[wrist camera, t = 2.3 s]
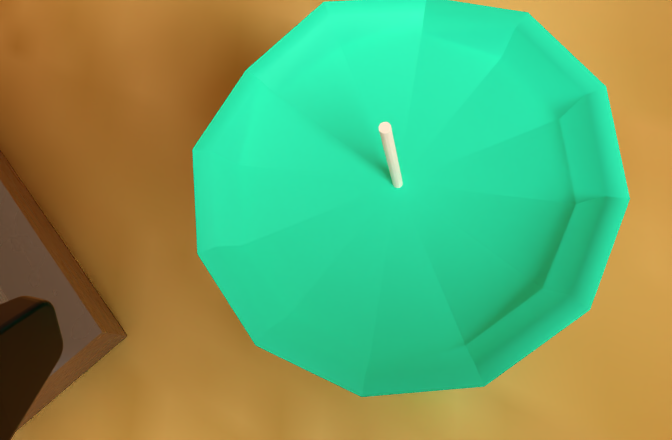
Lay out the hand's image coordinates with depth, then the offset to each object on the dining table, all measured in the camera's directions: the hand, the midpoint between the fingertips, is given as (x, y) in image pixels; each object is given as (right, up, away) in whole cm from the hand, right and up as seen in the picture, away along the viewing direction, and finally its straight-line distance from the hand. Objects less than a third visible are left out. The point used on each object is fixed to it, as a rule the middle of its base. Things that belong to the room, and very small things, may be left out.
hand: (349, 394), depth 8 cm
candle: (+2, 0, +10) cm, 11 cm away
